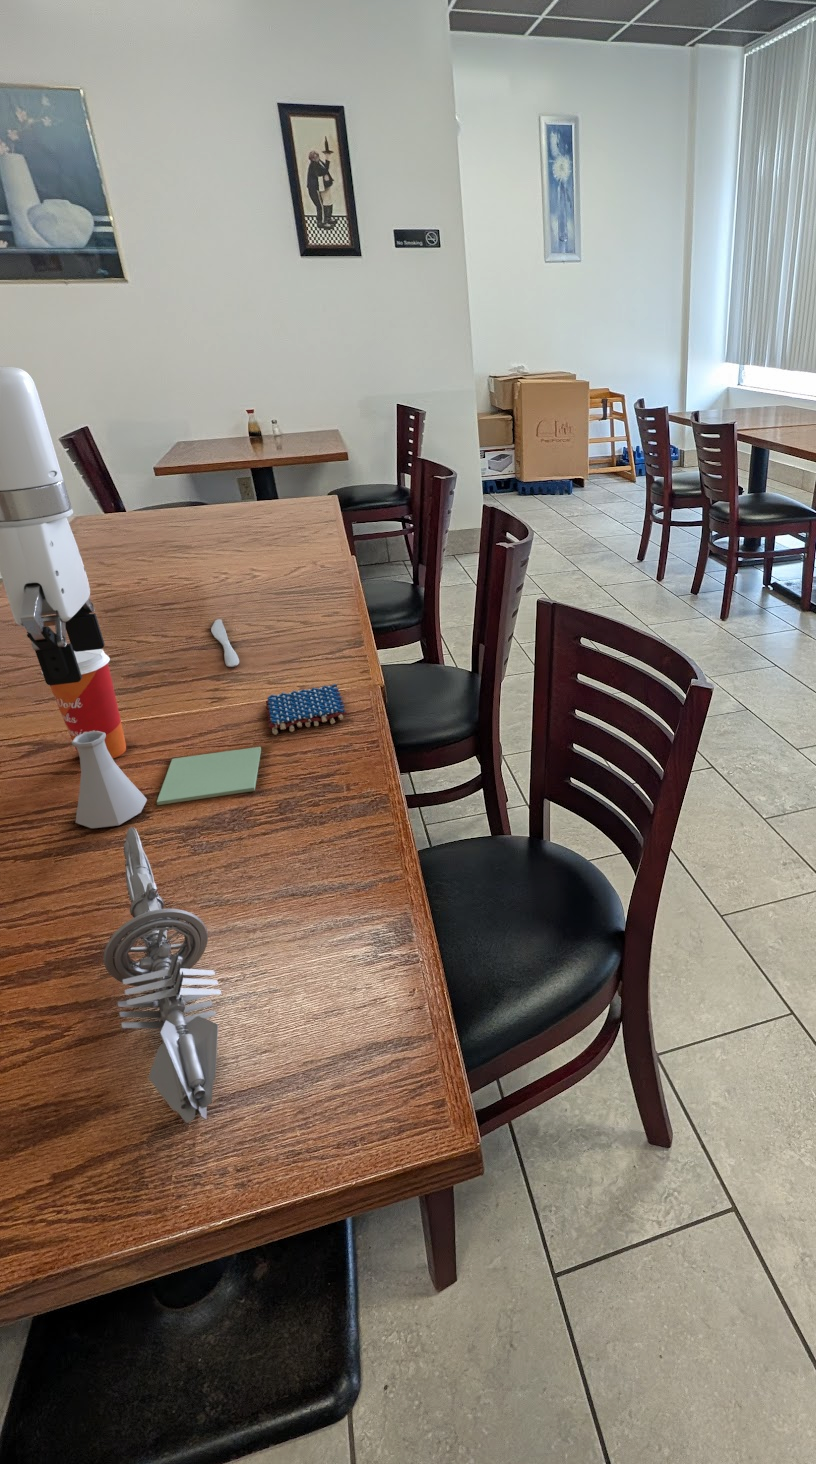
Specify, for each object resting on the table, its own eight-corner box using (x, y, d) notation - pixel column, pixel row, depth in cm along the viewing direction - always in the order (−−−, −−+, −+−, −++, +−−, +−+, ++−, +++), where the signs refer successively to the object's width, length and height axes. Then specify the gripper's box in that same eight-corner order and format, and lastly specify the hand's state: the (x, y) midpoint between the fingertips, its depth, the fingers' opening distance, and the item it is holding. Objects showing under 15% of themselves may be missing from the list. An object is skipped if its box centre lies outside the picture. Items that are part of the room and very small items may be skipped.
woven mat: (265, 706, 121) (263, 694, 120) (338, 694, 124) (336, 681, 123) (269, 736, 112) (266, 723, 111) (348, 721, 115) (346, 709, 115)
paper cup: (63, 754, 109) (30, 656, 103) (123, 734, 114) (95, 640, 108) (82, 773, 104) (49, 672, 98) (144, 752, 109) (116, 654, 103)
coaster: (157, 805, 97) (156, 801, 97) (173, 761, 106) (172, 758, 106) (254, 791, 99) (254, 787, 99) (261, 749, 109) (260, 746, 108)
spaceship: (178, 797, 83) (89, 795, 78) (270, 1059, 57) (147, 1080, 53) (163, 863, 85) (75, 865, 80) (245, 1141, 60) (124, 1169, 55)
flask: (63, 828, 93) (36, 751, 88) (104, 795, 99) (80, 721, 95) (122, 832, 92) (97, 754, 87) (159, 798, 98) (137, 723, 94)
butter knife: (221, 666, 134) (240, 662, 135) (208, 621, 156) (224, 617, 157) (222, 670, 134) (241, 665, 135) (209, 624, 156) (225, 620, 157)
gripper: (13, 491, 87) (62, 642, 94) (-53, 526, 72) (11, 702, 79) (90, 485, 88) (132, 634, 96) (41, 518, 73) (96, 692, 81)
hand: (77, 665), depth 88 cm, fingers open, 9 cm apart
